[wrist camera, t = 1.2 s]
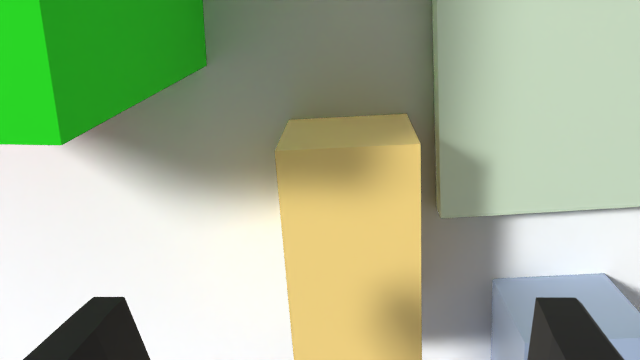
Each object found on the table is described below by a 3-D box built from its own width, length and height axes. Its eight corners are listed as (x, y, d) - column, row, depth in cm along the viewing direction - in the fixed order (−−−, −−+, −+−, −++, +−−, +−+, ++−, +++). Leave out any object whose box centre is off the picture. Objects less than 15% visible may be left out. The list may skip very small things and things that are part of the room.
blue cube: (594, 363, 22) (647, 443, 18) (490, 367, 22) (520, 446, 18) (603, 272, 20) (661, 336, 17) (492, 277, 21) (525, 342, 17)
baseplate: (732, 189, 19) (752, 199, 18) (436, 207, 20) (440, 218, 19) (785, -142, 16) (813, -150, 15) (430, -106, 17) (435, -111, 16)
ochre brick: (408, 293, 21) (421, 360, 17) (303, 297, 21) (294, 363, 18) (406, 112, 19) (420, 143, 15) (288, 118, 19) (274, 150, 15)
